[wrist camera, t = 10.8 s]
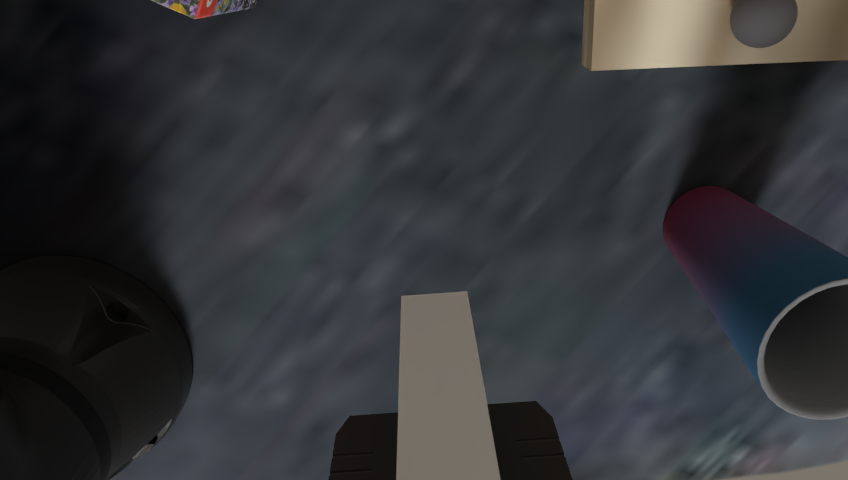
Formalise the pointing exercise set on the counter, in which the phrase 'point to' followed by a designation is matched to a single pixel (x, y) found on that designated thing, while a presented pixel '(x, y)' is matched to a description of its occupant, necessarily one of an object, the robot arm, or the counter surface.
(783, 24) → the black rubber ball
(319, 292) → the counter surface
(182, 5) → the ink box
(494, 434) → the robot arm
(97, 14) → the counter surface
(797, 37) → the board
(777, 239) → the cup
